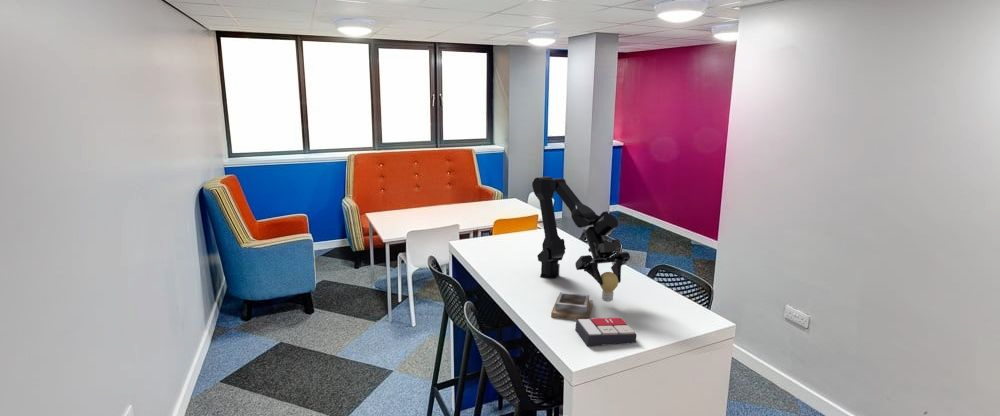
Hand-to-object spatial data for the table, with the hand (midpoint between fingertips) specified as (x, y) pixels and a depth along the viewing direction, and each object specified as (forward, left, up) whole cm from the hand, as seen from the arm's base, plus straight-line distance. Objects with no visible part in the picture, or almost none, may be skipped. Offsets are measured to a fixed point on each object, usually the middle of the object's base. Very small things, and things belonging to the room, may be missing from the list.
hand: (610, 283), depth 173 cm
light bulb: (-1, +1, -7) cm, 7 cm away
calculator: (0, -21, -9) cm, 23 cm away
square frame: (-12, -6, -9) cm, 16 cm away
